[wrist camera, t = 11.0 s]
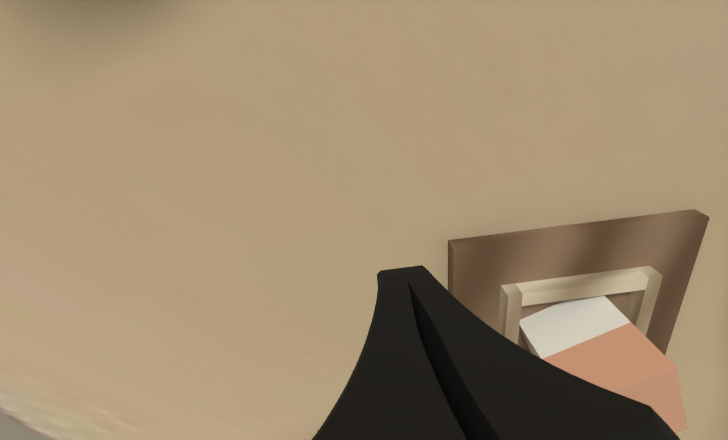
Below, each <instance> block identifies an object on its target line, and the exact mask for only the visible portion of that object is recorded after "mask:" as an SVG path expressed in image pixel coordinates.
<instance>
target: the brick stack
mask: <svg viewBox="0 0 728 440" xmlns="http://www.w3.org/2000/svg"><path fill="white" fill-rule="evenodd" d="M519 327H520V329H521V332H522V334H523V337H524V339H525V341H526V344H527V346H528V349H529V351H530V353H532V354H534V355H536V356H537V357H539V358H541V359H543V360H545V361H547V362H548V363H550V364H552V365H554V366H556V367H558V368H560V369H562V370H564V371H566V372H568V373H570V374H572V375H575V376H577V377H579V378H581V379H584V380H586V381H588V382H590V383H592V384H595V385H597V386H599V387H602V388H604V389H607V390H610V391H612V392H615V393H617V394H620V395H623V396H625V397H628V398H630V399H633V400H636V401H638V402H641V403H644V404H646V405H649V406H651V408H652V409H653V410H654V411H655V412H656V413H657V414H658V415H659V416H660V417H661V418H662V419H663V420H664V421H665V422H666V423H667V424H668V425H669V427H670V428H671V429H672V430H673V431H674V433H676V432H679V431H682V430H684V429H687V425H686V419H685V413H684V407H683V402H682V396H681V390H680V384H679V378H678V372H677V367H676V366H675V365H674V364H673V363H672V362H671V361H670V360H669V359H668V358H667V357H666V356H665V355H664V354H663V353H662V352H661V351H660V350H659V349H658V348H657V347H656V346H655V345H654V344H653V343H652V342H651V341H650V340H649V339H648V338H647V337H646V336H645V335H644V334H643V333H642V332H641V331H640V330H639V329H637V328H636V327H635V326H634V325H633V324H632V323H631V322H630V321H629V320H628V319H627V318H626V317H625V316H624V315H623V314H622V313H621V312H620V311H619V310H618V309H617V308H616V307H615V306H614V305H613V304H612V303H611V302H610V301H609V300H608V299H607V298H606V297H605V296H604V295H602V296H594V297H587V298H579V299H572V300H565V301H563V302H560V303H558V304H556V305H553V306H551V307H549V308H546V309H544V310H542V311H539V312H537V313H535V314H532V315H530V316H528V317H525V318H523V319H521V320H520V326H519Z"/></svg>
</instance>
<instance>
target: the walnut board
mask: <svg viewBox="0 0 728 440" xmlns="http://www.w3.org/2000/svg"><path fill="white" fill-rule="evenodd" d="M709 218H710V217H708V216H706V215H704V214H702V213H700V212H699V211H697V210H695V209H694V210H686V211H678V212H670V213H662V214H654V215H646V216H639V217H631V218H623V219H615V220H607V221H599V222H591V223H583V224H575V225H567V226H559V227H551V228H543V229H535V230H527V231H520V232H512V233H504V234H496V235H488V236H480V237H472V238H464V239H456V240H448V291H449V292H450V293H451V294H452V295H453V296H454V297H455V298H456V299H457V300H458V301H460V302H461V303H462V304H463V305H464V306H465V307H466V308H467V309H469V310H470V311H471V312H472V313H473V314H475V315H476V316H477V317H478V318H480V319H481V320H482V321H483V322H485V323H486V324H487V325H489V326H490V327H491V328H493V329H494V330H495V331H497V332H498V333H500V334H501V335H503V336H504V337H506V338H507V339H509V340H511V341H512V342H514V343H515V344H517V345H518V346H520V347H522V348H523V349H525V350H527V351H528V352H530V351H529V349H528V346H527V344H526V341H525V339H524V337H523V334H522V332H521V329H520V327H519V326H520V320H521V319H523V318H525V317H528V316H530V315H532V314H535V313H537V312H539V311H542V310H544V309H546V308H549V307H551V306H553V305H556V304H558V303H560V302H563V301H565V300H572V299H579V298H587V297H594V296H602V295H604V296H605V297H606V298H607V299H608V300H609V301H610V302H611V303H612V304H613V305H614V306H615V307H616V308H617V309H618V310H619V311H620V312H621V313H622V314H623V315H624V316H625V317H626V318H627V319H628V320H629V321H630V322H631V323H632V324H633V325H634V326H635V327H636V328H637V329H639V330H640V331H641V332H642V333H643V334H644V335H645V336H646V337H647V338H648V339H649V340H650V341H651V342H652V343H653V344H654V345H655V346H656V347H657V348H658V349H659V350H660V351H661V352H662V353H663V354H664V355H665V353H666V350H667V347H668V344H669V340H670V337H671V334H672V331H673V328H674V325H675V322H676V319H677V316H678V313H679V310H680V307H681V304H682V301H683V297H684V294H685V291H686V288H687V285H688V282H689V279H690V276H691V273H692V270H693V267H694V264H695V261H696V258H697V255H698V251H699V248H700V245H701V242H702V239H703V236H704V233H705V230H706V227H707V224H708V221H709Z"/></svg>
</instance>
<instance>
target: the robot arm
mask: <svg viewBox="0 0 728 440" xmlns="http://www.w3.org/2000/svg"><path fill="white" fill-rule="evenodd" d="M377 280H378V293H377V301H376V305H375V310H374V315H373V319H372V323H371V326H370V329H369V332H368V336H367V339H366V342H365V344H364V347H363V350H362V352H361V355H360V357H359V360H358V362H357V364H356V367H355V369H354V371H353V373H352V375H351V377H350V379H349V381H348V383H347V385H346V387H345V389H344V391H343V392H342V394H341V396H340V398H339V399H338V401H337V403H336V404H335V406H334V407H333V409H332V411H331V412H330V414H329V416H328V417H327V419H326V420H325V422H324V423H323V425H322V426H321V428H320V429H319V431H318V432H317V433H316V435H315V436H314V437H313V439H312V440H680V439H679V437H678V436H677V435H676V434H675V433H674V431H673V430H672V429H671V428H670V427H669V425H668V424H667V423H666V422H665V421H664V420H663V419H662V418H661V417H660V416H659V415H658V414H657V413H656V412H655V411H654V410H653V409H652V408H651V406H649V405H646V404H644V403H641V402H638V401H636V400H633V399H630V398H628V397H625V396H623V395H620V394H617V393H615V392H612V391H610V390H607V389H604V388H602V387H599V386H597V385H595V384H592V383H590V382H588V381H586V380H584V379H581V378H579V377H577V376H575V375H572V374H570V373H568V372H566V371H564V370H562V369H560V368H558V367H556V366H554V365H552V364H550V363H548V362H547V361H545V360H543V359H541V358H539V357H537V356H536V355H534V354H532V353H530V352H528V351H527V350H525V349H523V348H522V347H520V346H518V345H517V344H515V343H514V342H512V341H511V340H509V339H507V338H506V337H504V336H503V335H501V334H500V333H498V332H497V331H495V330H494V329H493V328H491V327H490V326H489V325H487V324H486V323H485V322H483V321H482V320H481V319H480V318H478V317H477V316H476V315H475V314H473V313H472V312H471V311H470V310H469V309H467V308H466V307H465V306H464V305H463V304H462V303H461V302H460V301H458V300H457V299H456V298H455V297H454V296H453V295H452V294H451V293H450V292H449V291H448V290H447V289H446V288H444V287H443V286H442V285H441V284H440V283H439V282H438V281H437V280H436V279H435V277H434V276H433V275H432V274H431V273H430V272H429V271H428V270H427V269H426V268H425V267H423V266H422V265H421V266H414V267H406V268H398V269H390V270H382V271H380V272H379V273H378V274H377Z"/></svg>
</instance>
